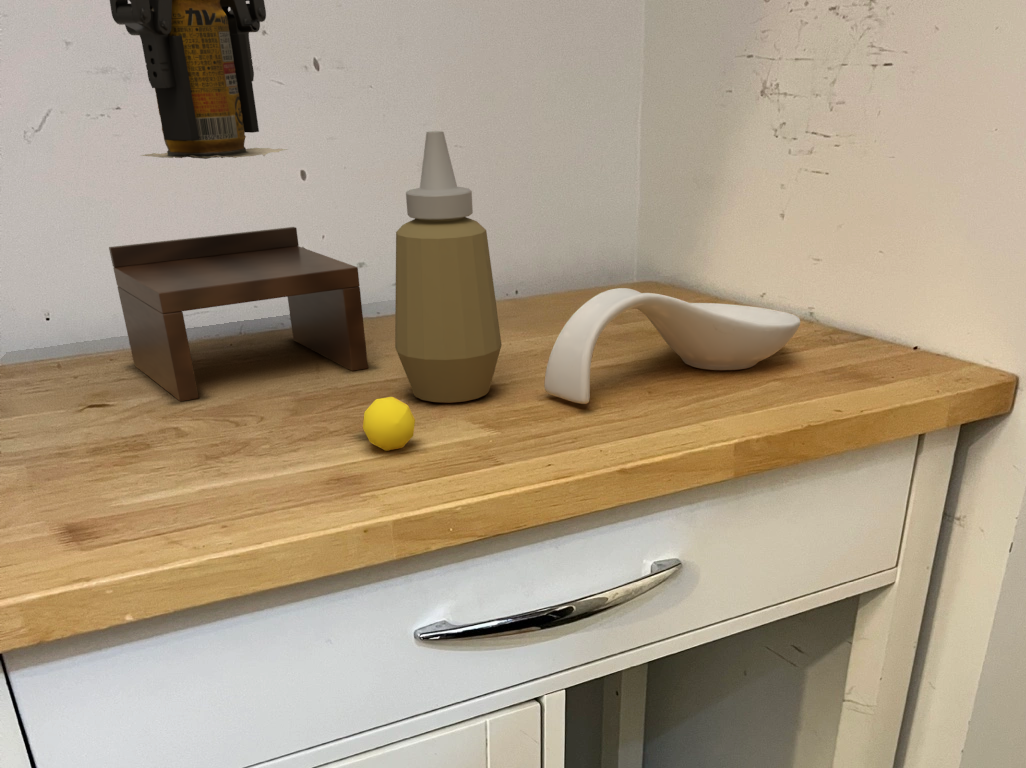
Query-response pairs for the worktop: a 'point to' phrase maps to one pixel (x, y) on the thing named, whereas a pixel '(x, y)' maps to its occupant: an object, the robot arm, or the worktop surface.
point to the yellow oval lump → (388, 423)
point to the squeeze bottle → (444, 288)
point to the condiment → (209, 84)
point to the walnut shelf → (233, 297)
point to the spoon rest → (667, 336)
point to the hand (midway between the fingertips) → (212, 135)
